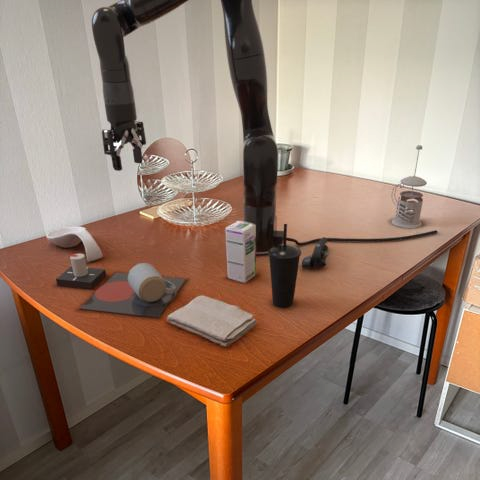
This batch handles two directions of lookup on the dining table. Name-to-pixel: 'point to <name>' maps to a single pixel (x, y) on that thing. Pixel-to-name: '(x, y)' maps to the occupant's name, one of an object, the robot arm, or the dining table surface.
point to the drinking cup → (283, 272)
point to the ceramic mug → (149, 283)
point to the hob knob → (79, 265)
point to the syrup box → (241, 251)
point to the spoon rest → (75, 240)
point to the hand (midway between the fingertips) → (128, 166)
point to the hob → (128, 298)
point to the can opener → (317, 255)
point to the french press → (409, 202)
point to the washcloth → (213, 320)
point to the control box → (81, 278)
